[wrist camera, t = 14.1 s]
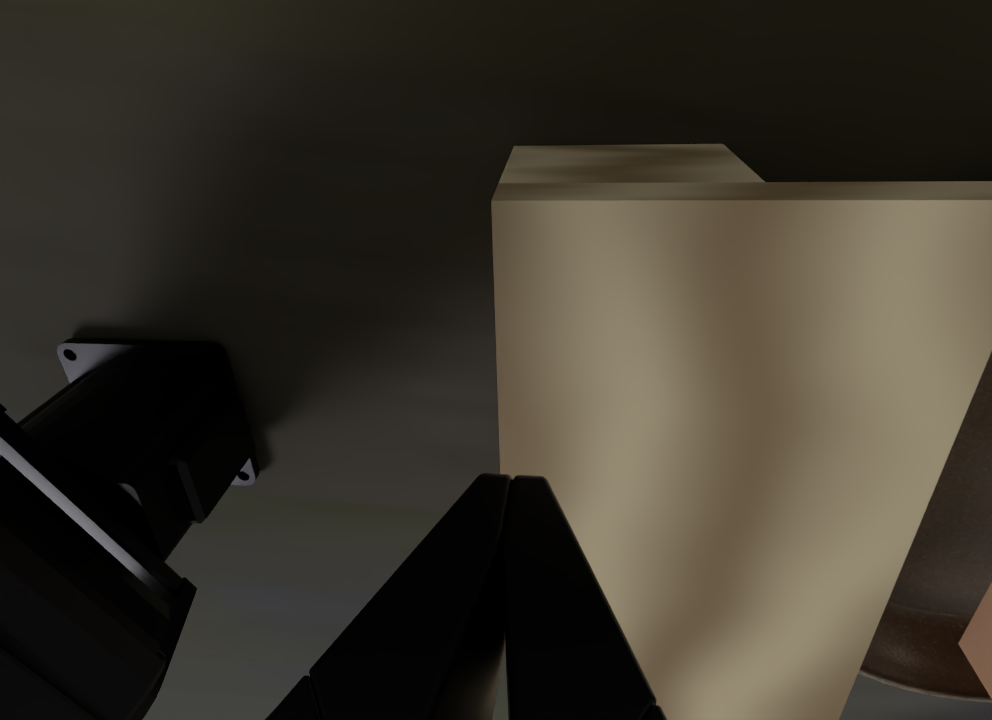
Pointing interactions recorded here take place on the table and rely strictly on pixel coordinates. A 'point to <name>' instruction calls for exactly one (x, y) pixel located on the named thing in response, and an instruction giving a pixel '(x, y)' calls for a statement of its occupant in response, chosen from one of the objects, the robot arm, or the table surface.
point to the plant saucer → (943, 572)
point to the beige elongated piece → (736, 399)
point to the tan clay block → (980, 641)
